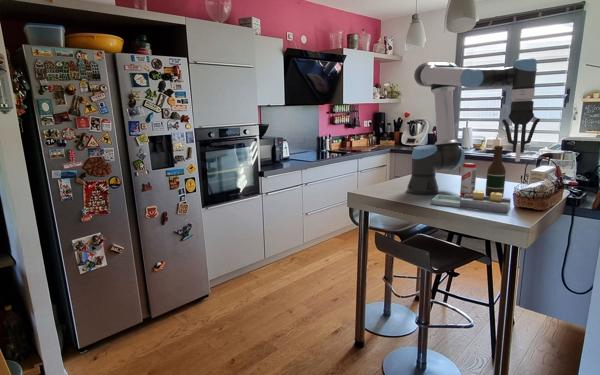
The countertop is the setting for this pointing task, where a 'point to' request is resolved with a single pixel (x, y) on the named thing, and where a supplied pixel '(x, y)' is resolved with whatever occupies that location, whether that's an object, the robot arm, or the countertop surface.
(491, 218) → the countertop surface
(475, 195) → the chip back
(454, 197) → the tray
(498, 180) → the beer bottle
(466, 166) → the white red canister
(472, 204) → the slot board
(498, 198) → the chip front
